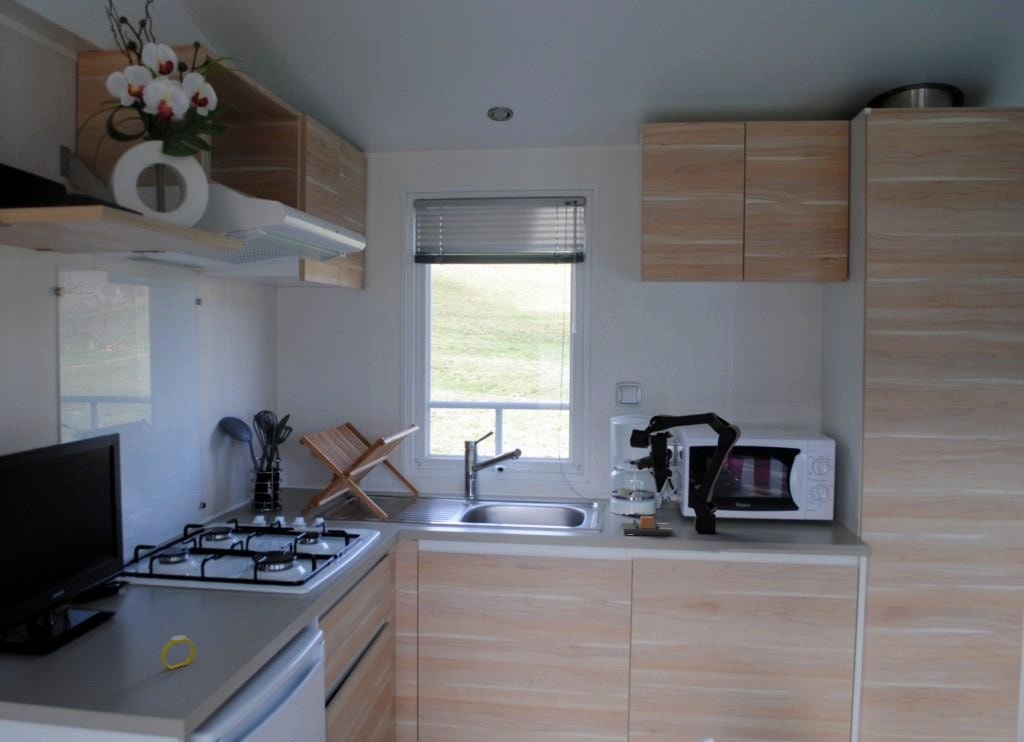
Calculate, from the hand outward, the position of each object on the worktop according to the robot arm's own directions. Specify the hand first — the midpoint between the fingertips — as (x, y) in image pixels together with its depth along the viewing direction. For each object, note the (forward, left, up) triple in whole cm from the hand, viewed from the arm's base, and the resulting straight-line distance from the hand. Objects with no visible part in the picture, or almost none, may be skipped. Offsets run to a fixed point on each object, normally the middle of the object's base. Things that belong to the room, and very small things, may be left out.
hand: (658, 492), depth 251 cm
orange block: (+6, +12, -10) cm, 17 cm away
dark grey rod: (+6, +14, -12) cm, 20 cm away
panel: (+6, +9, -12) cm, 16 cm away
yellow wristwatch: (+114, +119, -12) cm, 165 cm away
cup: (+9, -17, -12) cm, 23 cm away
